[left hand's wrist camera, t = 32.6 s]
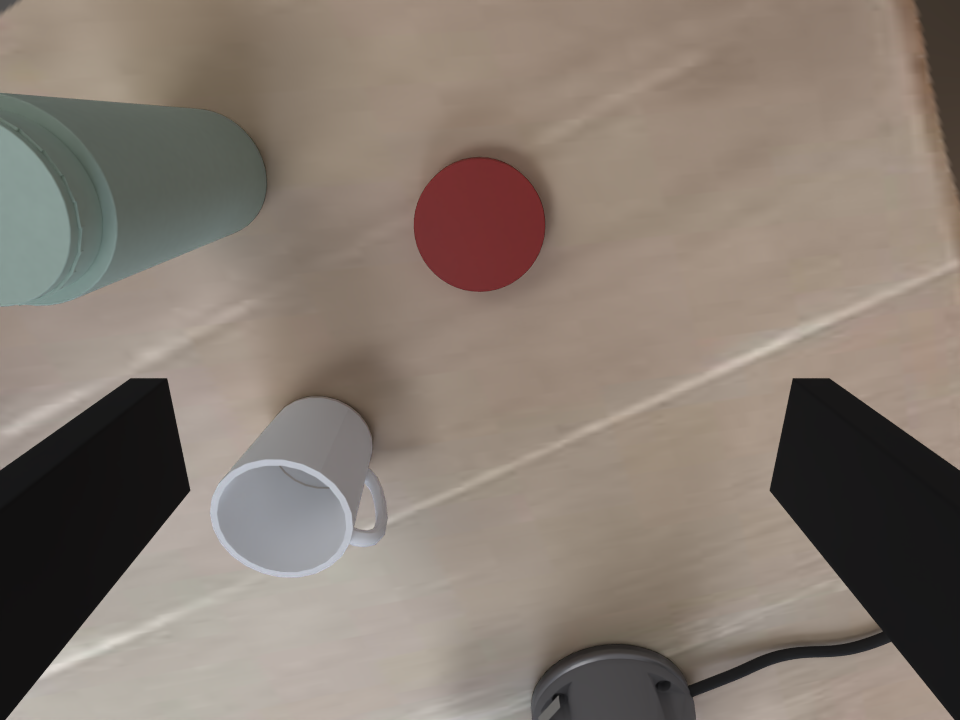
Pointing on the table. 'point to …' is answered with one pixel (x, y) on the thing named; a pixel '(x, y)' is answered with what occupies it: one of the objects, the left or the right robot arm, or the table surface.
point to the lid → (479, 224)
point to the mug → (300, 491)
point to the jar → (113, 191)
